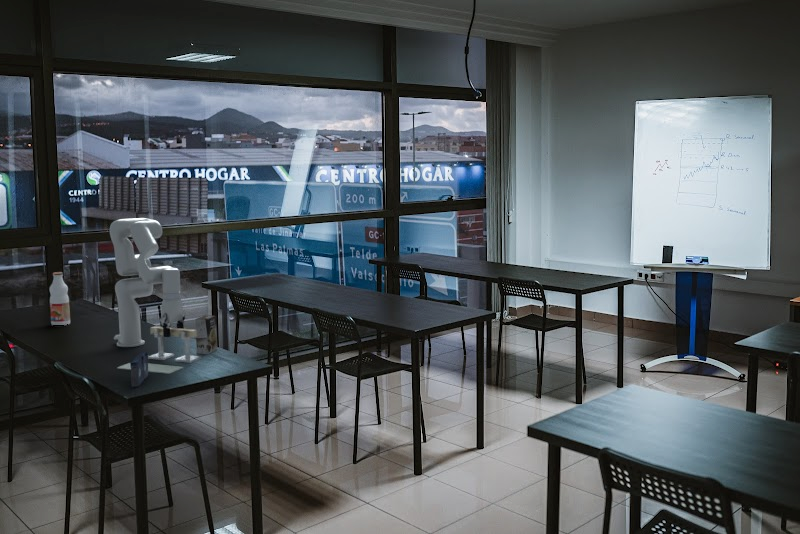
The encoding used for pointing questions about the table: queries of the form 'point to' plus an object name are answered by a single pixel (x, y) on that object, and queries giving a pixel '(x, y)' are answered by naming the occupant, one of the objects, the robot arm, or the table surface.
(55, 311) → the fruit juice
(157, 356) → the standard left
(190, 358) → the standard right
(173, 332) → the birch rail
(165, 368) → the sage mat
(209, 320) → the coffee box
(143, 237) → the robot arm
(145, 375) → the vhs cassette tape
